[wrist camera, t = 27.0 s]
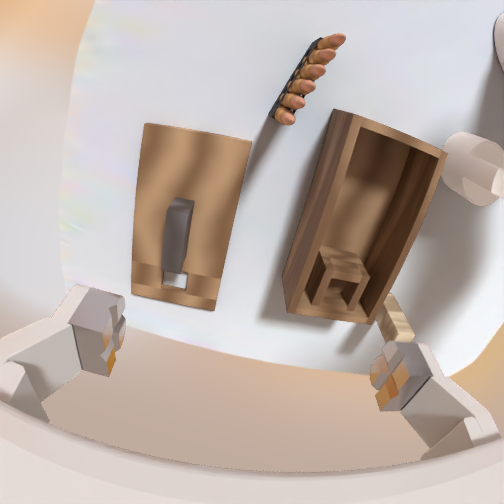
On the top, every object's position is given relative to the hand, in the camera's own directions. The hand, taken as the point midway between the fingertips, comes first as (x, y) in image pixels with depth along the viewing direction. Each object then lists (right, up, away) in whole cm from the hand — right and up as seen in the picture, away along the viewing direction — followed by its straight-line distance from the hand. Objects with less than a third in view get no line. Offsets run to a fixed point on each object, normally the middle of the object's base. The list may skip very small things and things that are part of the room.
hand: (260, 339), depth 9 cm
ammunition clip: (+5, +22, +24) cm, 33 cm away
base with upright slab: (+30, +15, +27) cm, 43 cm away
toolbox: (+13, +8, +31) cm, 35 cm away
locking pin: (+20, -5, +38) cm, 44 cm away
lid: (-9, +6, +32) cm, 34 cm away
